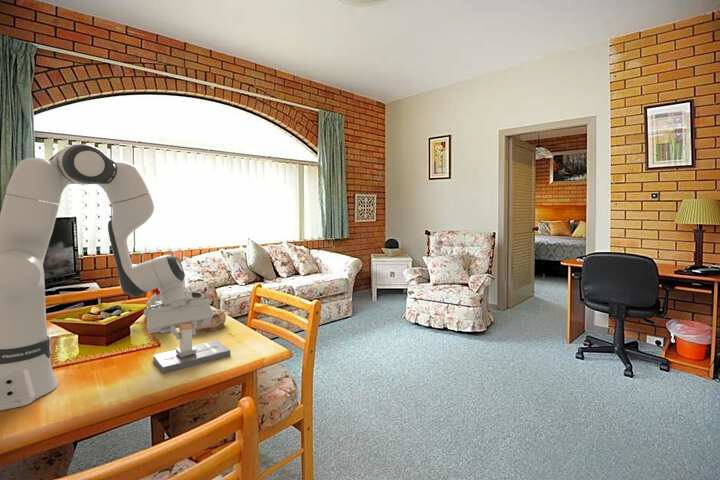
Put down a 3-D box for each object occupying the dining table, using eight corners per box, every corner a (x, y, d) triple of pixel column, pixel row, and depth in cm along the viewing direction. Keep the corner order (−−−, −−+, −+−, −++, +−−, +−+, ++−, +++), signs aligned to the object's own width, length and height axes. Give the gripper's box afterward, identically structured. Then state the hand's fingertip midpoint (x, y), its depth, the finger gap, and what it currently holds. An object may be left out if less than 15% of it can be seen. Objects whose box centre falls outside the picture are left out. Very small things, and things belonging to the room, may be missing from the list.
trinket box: (229, 323, 161) (229, 305, 161) (213, 335, 147) (212, 316, 146) (200, 322, 163) (200, 304, 162) (180, 333, 148) (180, 314, 147)
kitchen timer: (137, 319, 164) (136, 286, 163) (159, 310, 178) (158, 280, 177) (165, 321, 162) (164, 288, 161) (185, 312, 176) (184, 281, 174)
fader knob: (180, 357, 120) (179, 328, 119) (175, 352, 123) (175, 324, 122) (196, 353, 123) (195, 325, 122) (191, 348, 127) (190, 321, 126)
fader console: (163, 373, 113) (163, 366, 113) (153, 360, 122) (153, 354, 122) (230, 355, 127) (230, 349, 127) (217, 345, 136) (216, 339, 136)
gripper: (143, 301, 120) (152, 339, 113) (208, 292, 133) (219, 325, 127) (141, 312, 123) (149, 349, 117) (204, 301, 137) (214, 334, 131)
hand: (186, 337), depth 122 cm, fingers closed on fader knob, 3 cm apart
